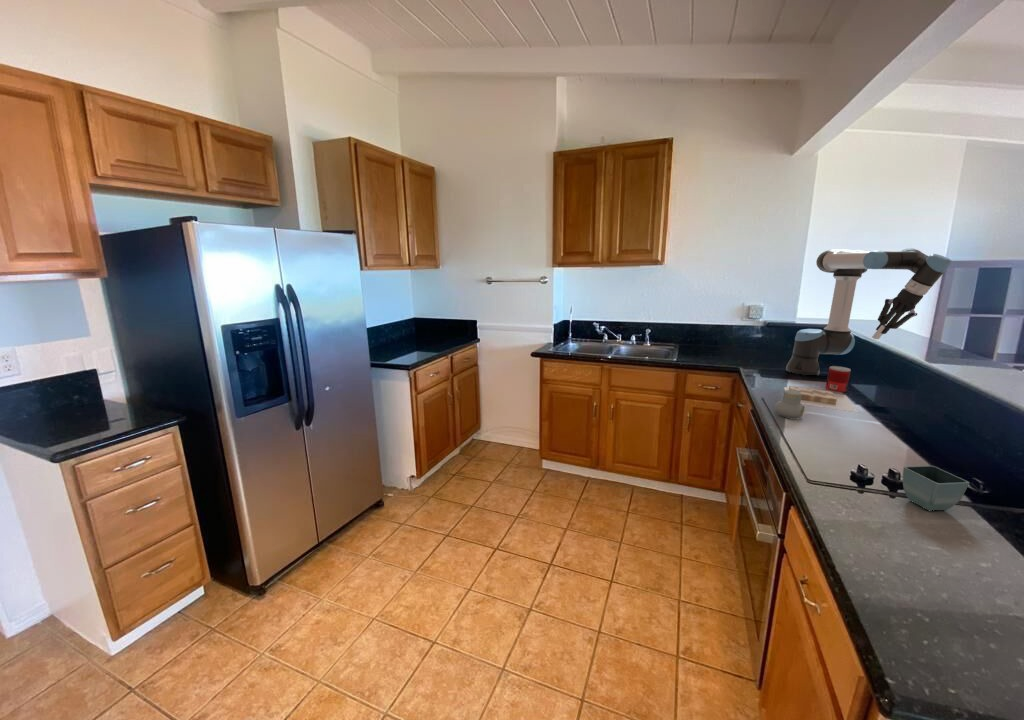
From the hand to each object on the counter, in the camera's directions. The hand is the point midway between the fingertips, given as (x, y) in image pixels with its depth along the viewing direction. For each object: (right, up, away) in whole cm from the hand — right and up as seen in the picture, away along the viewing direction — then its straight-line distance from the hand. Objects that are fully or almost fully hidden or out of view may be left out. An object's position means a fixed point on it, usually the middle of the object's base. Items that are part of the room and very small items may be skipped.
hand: (875, 338), depth 191 cm
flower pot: (-57, -47, -82) cm, 110 cm away
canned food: (-10, -24, +10) cm, 28 cm away
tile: (-23, -26, -6) cm, 35 cm away
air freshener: (-53, -32, -23) cm, 66 cm away
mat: (-28, -27, -3) cm, 39 cm away
